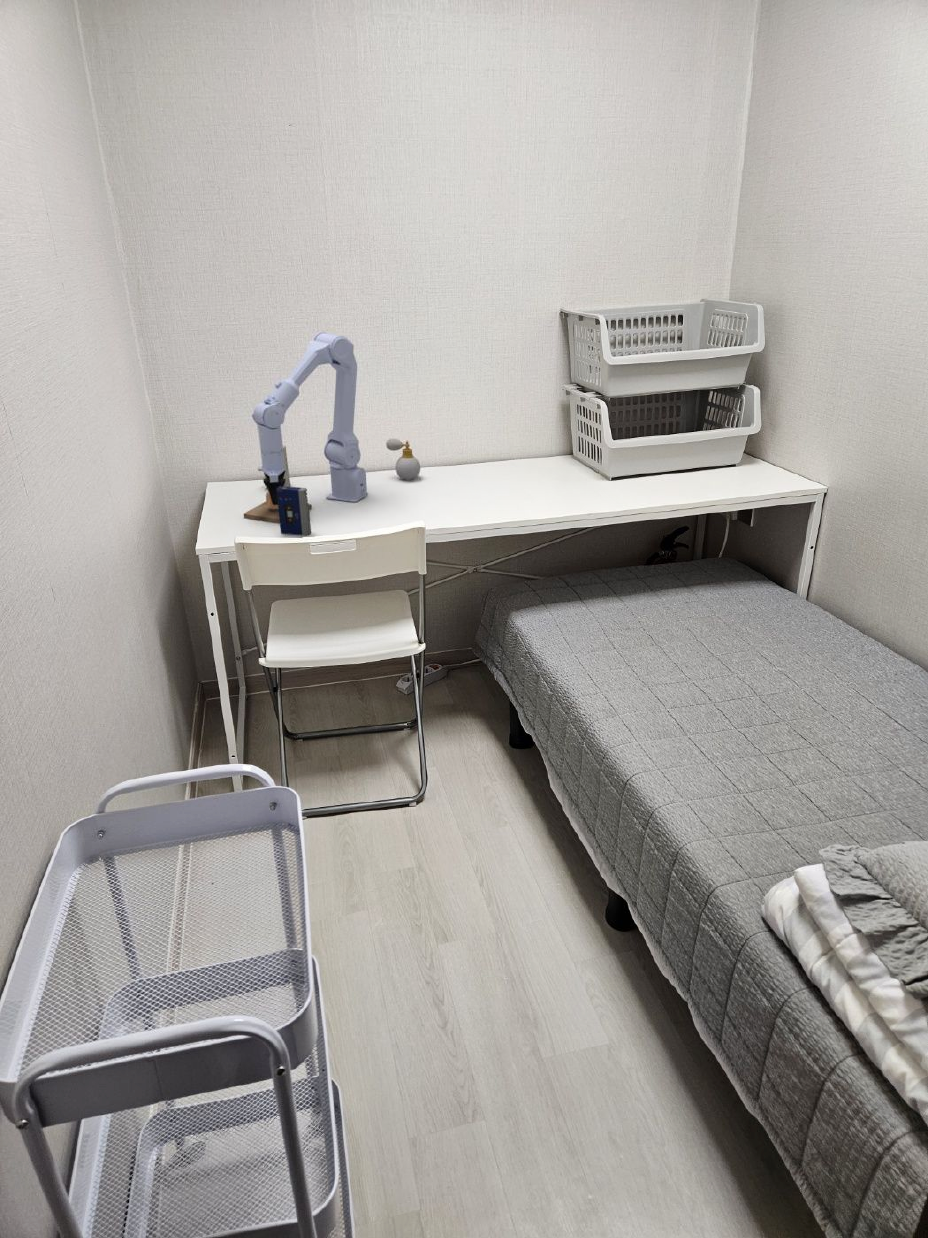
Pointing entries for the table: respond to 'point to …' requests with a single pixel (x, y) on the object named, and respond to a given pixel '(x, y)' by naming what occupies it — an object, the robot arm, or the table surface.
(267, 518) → the stud block
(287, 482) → the skincare box
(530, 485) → the table surface
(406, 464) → the perfume bottle
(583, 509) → the table surface
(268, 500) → the cap
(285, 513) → the cassette player
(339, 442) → the robot arm
